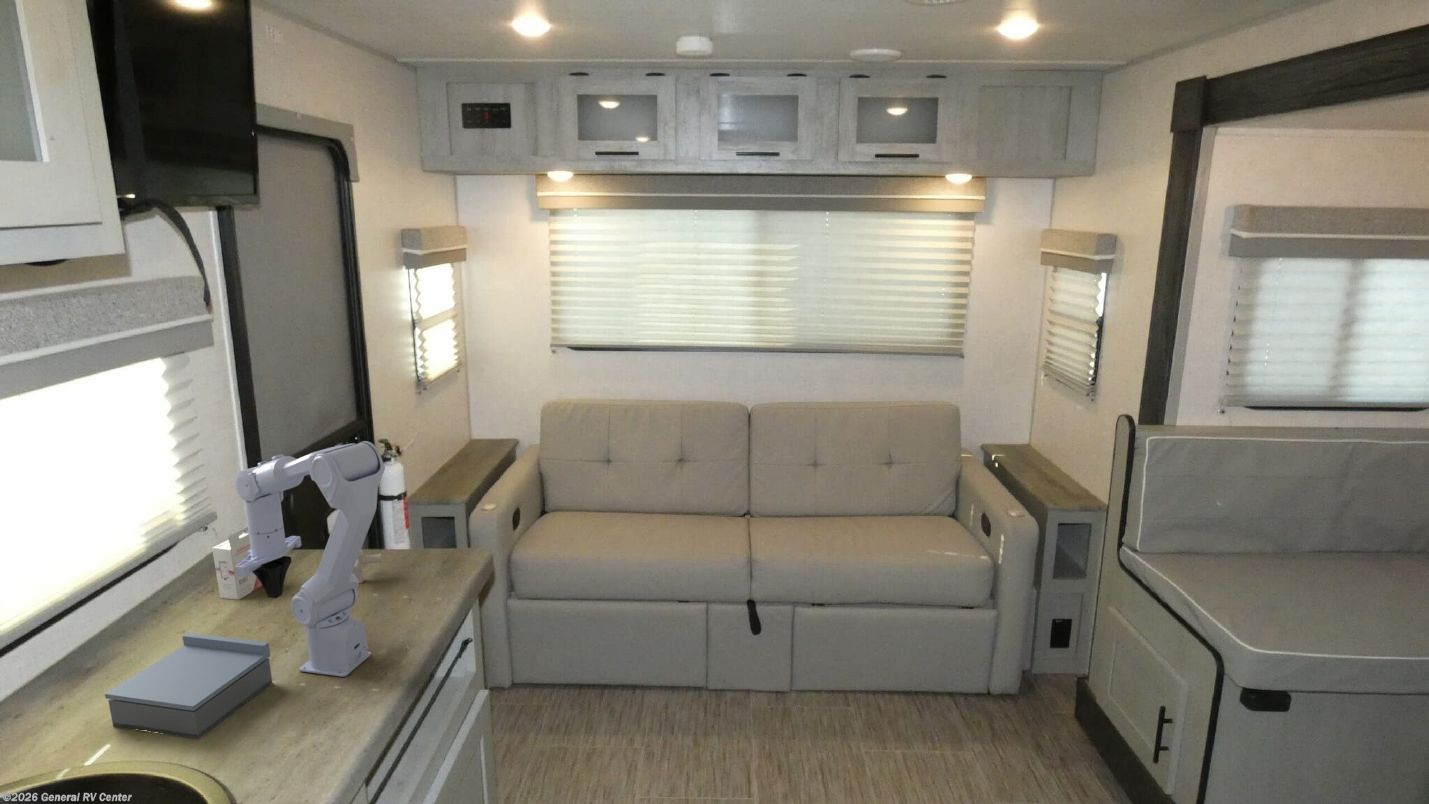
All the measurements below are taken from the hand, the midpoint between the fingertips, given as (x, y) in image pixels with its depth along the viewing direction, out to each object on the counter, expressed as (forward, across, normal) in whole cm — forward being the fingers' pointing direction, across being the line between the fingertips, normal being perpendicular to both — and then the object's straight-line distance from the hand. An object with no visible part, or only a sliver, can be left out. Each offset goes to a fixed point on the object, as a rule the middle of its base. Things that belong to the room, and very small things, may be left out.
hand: (274, 596), depth 152 cm
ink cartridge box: (+10, -18, -24) cm, 32 cm away
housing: (+10, +20, 0) cm, 22 cm away
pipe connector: (+10, -27, -2) cm, 29 cm away
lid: (+5, +20, 0) cm, 21 cm away
